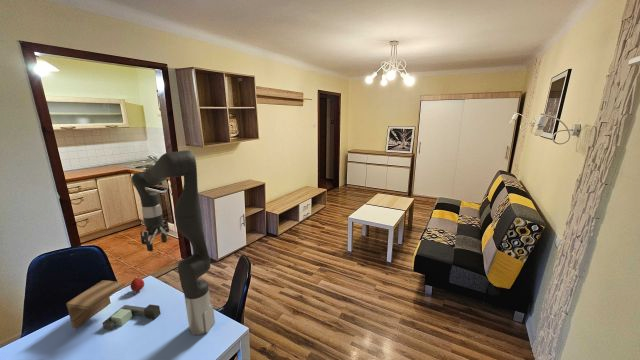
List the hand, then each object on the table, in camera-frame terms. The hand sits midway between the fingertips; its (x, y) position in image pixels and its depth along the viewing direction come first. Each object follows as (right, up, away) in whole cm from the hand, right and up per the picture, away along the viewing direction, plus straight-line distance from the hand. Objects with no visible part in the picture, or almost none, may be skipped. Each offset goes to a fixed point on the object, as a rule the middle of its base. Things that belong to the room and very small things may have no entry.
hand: (157, 246), depth 124 cm
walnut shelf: (-22, -30, -5) cm, 38 cm away
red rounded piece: (-17, -26, +12) cm, 34 cm away
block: (-11, -31, -8) cm, 34 cm away
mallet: (-6, -31, -8) cm, 33 cm away
